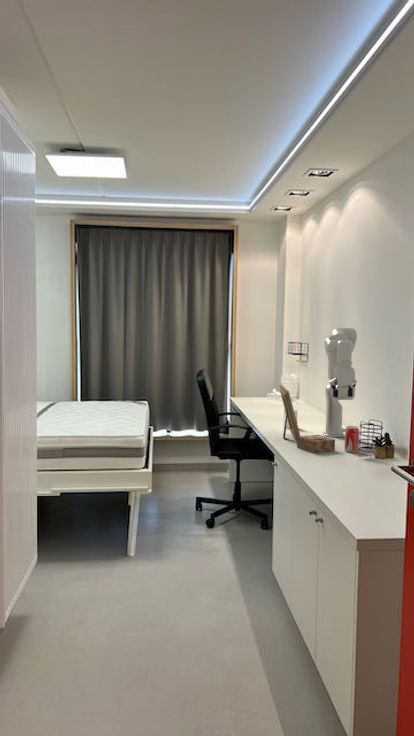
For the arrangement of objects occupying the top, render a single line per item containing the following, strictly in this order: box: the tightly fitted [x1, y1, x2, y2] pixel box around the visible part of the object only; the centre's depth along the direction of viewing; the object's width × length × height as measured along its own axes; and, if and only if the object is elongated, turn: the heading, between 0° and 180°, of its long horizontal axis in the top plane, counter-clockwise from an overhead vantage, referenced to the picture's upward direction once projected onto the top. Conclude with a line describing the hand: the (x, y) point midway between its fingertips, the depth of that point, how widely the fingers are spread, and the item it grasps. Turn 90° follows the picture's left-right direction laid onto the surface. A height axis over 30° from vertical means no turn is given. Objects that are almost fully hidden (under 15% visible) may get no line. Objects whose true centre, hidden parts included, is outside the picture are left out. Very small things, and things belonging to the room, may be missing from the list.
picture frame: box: [279, 384, 301, 441], centre depth 309 cm, size 33×10×30 cm, turn 179°
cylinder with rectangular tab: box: [282, 408, 298, 430], centre depth 344 cm, size 9×9×12 cm
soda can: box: [344, 425, 360, 454], centre depth 279 cm, size 7×7×13 cm
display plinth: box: [296, 434, 336, 454], centre depth 283 cm, size 14×14×6 cm
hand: (342, 396), depth 280 cm, fingers open, 9 cm apart
